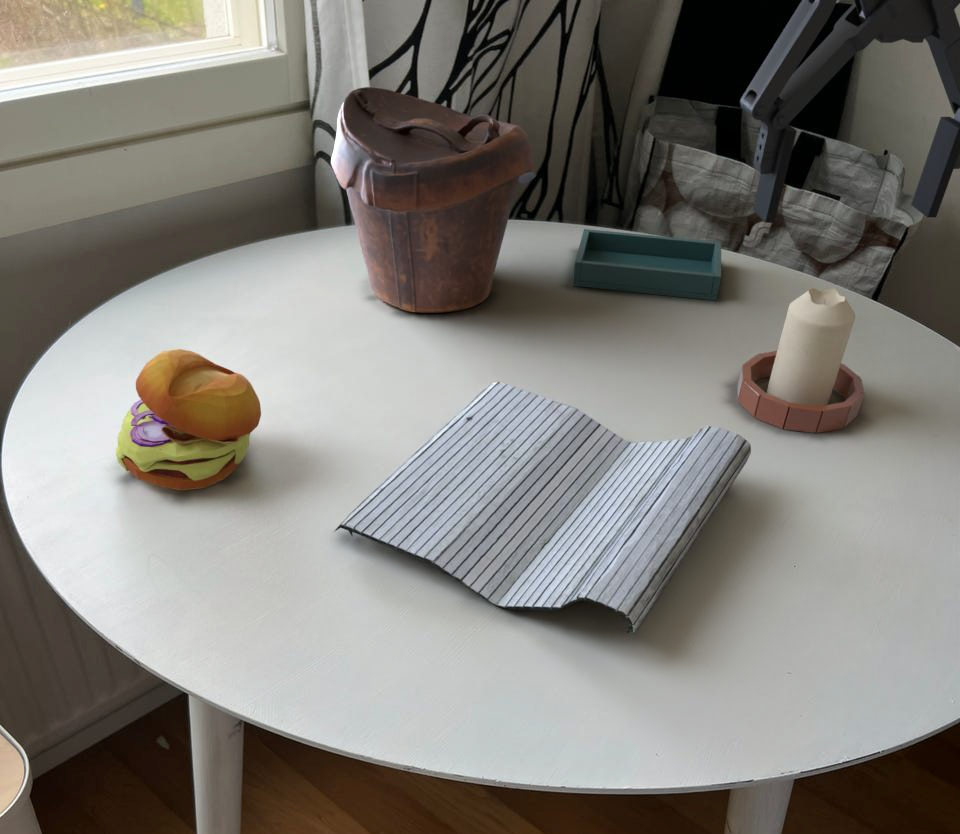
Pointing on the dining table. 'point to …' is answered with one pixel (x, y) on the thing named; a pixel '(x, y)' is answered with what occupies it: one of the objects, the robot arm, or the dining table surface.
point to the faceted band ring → (798, 414)
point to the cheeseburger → (187, 422)
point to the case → (428, 195)
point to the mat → (551, 504)
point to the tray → (648, 264)
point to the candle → (811, 347)
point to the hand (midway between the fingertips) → (844, 214)
